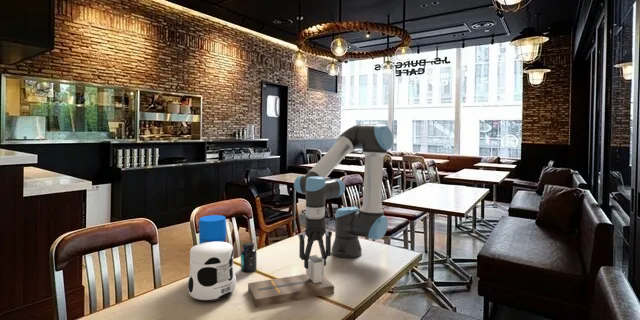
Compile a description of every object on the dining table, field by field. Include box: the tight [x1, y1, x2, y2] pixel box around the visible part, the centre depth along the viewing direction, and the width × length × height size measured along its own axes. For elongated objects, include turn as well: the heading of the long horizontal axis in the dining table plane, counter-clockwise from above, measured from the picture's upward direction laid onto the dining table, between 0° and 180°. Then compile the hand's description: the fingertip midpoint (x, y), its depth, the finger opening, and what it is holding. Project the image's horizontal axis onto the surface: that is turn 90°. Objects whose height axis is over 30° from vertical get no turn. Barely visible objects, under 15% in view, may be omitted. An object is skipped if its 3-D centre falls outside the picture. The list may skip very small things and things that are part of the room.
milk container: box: [187, 241, 237, 302], centre depth 133 cm, size 17×17×18 cm
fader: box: [309, 254, 322, 283], centre depth 139 cm, size 3×6×9 cm, turn 22°
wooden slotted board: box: [247, 273, 335, 308], centre depth 136 cm, size 30×14×3 cm, turn 112°
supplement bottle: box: [240, 241, 258, 274], centre depth 156 cm, size 7×7×12 cm
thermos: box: [198, 214, 227, 244], centre depth 149 cm, size 11×11×25 cm
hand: (315, 274), depth 139 cm, fingers open, 5 cm apart
